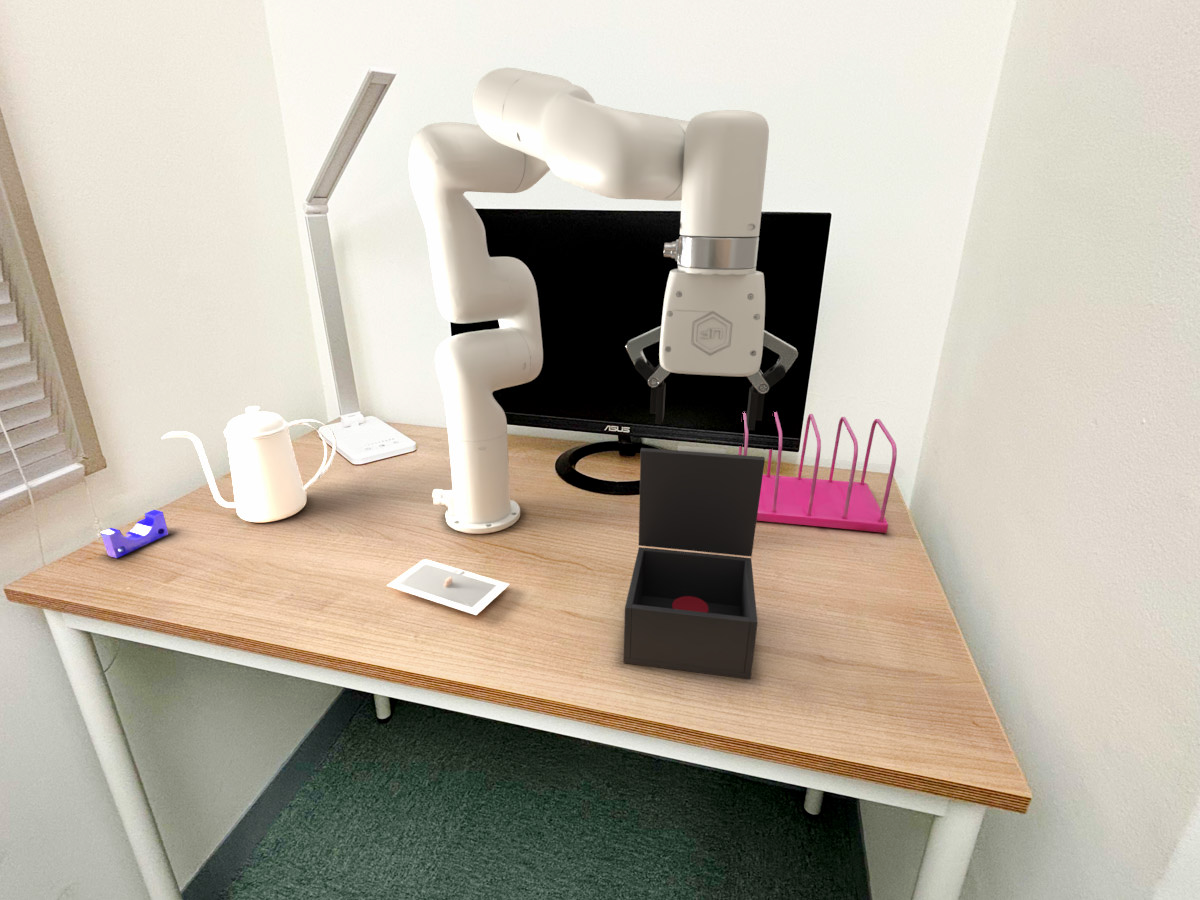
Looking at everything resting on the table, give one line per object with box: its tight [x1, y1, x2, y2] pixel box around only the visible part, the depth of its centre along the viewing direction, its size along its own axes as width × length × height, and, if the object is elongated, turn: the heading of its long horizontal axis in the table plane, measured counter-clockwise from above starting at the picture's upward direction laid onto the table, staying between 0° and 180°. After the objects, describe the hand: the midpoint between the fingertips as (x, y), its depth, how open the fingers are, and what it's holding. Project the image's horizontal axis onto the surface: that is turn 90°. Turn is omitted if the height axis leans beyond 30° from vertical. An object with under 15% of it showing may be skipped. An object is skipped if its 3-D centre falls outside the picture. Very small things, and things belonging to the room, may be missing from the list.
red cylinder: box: [672, 596, 709, 613], centre depth 75 cm, size 4×4×4 cm
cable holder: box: [100, 509, 170, 559], centre depth 96 cm, size 8×4×4 cm, turn 158°
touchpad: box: [386, 558, 511, 616], centre depth 85 cm, size 8×15×2 cm, turn 65°
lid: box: [638, 445, 766, 557], centre depth 79 cm, size 14×15×6 cm
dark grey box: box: [622, 546, 758, 680], centre depth 76 cm, size 14×15×8 cm
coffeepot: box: [161, 405, 337, 523], centre depth 104 cm, size 11×25×19 cm, turn 131°
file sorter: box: [737, 411, 898, 534], centre depth 109 cm, size 17×25×16 cm
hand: (704, 423), depth 66 cm, fingers open, 9 cm apart
